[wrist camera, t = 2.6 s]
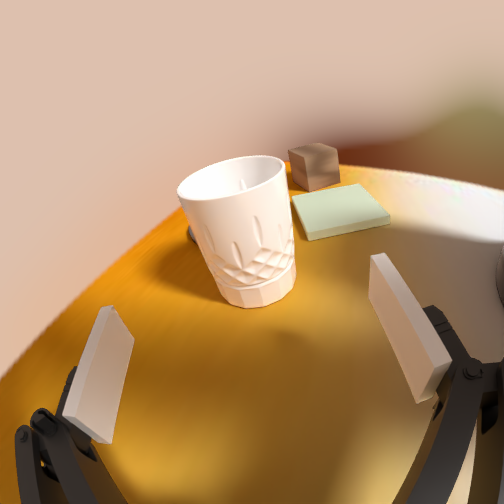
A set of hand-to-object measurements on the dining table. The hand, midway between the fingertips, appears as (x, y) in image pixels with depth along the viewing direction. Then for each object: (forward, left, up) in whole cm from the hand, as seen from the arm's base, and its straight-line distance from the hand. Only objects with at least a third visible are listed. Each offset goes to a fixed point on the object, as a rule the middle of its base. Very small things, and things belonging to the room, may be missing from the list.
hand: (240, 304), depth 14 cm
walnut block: (-10, -29, -7) cm, 31 cm away
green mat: (-10, -19, -7) cm, 22 cm away
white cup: (0, -10, -7) cm, 12 cm away
